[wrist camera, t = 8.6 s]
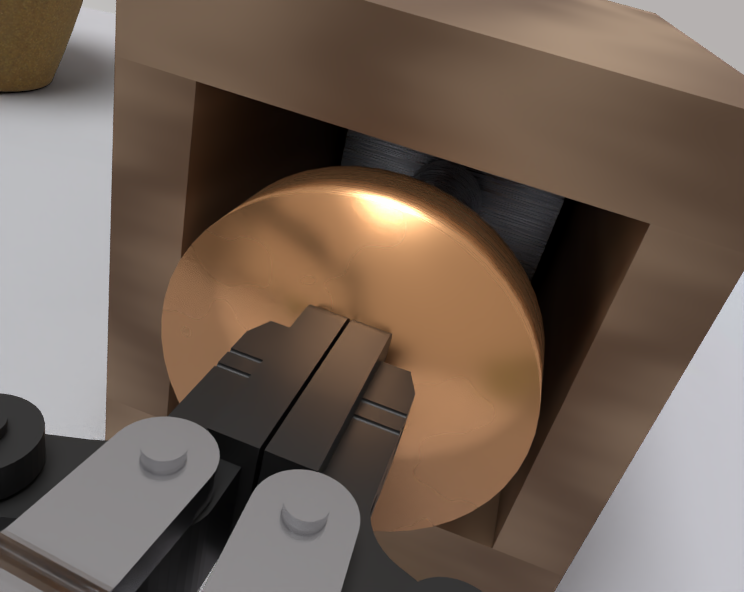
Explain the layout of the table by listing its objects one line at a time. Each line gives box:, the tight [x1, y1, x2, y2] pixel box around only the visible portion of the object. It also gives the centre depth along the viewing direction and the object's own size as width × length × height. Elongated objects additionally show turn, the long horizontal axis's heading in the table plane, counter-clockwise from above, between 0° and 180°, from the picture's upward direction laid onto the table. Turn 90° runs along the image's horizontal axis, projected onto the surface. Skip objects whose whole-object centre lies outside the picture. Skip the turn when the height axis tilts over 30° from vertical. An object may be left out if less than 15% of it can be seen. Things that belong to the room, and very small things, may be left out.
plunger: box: [161, 129, 565, 532], centre depth 20 cm, size 7×21×7 cm, turn 164°
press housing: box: [105, 0, 744, 592], centre depth 23 cm, size 11×24×12 cm, turn 164°
